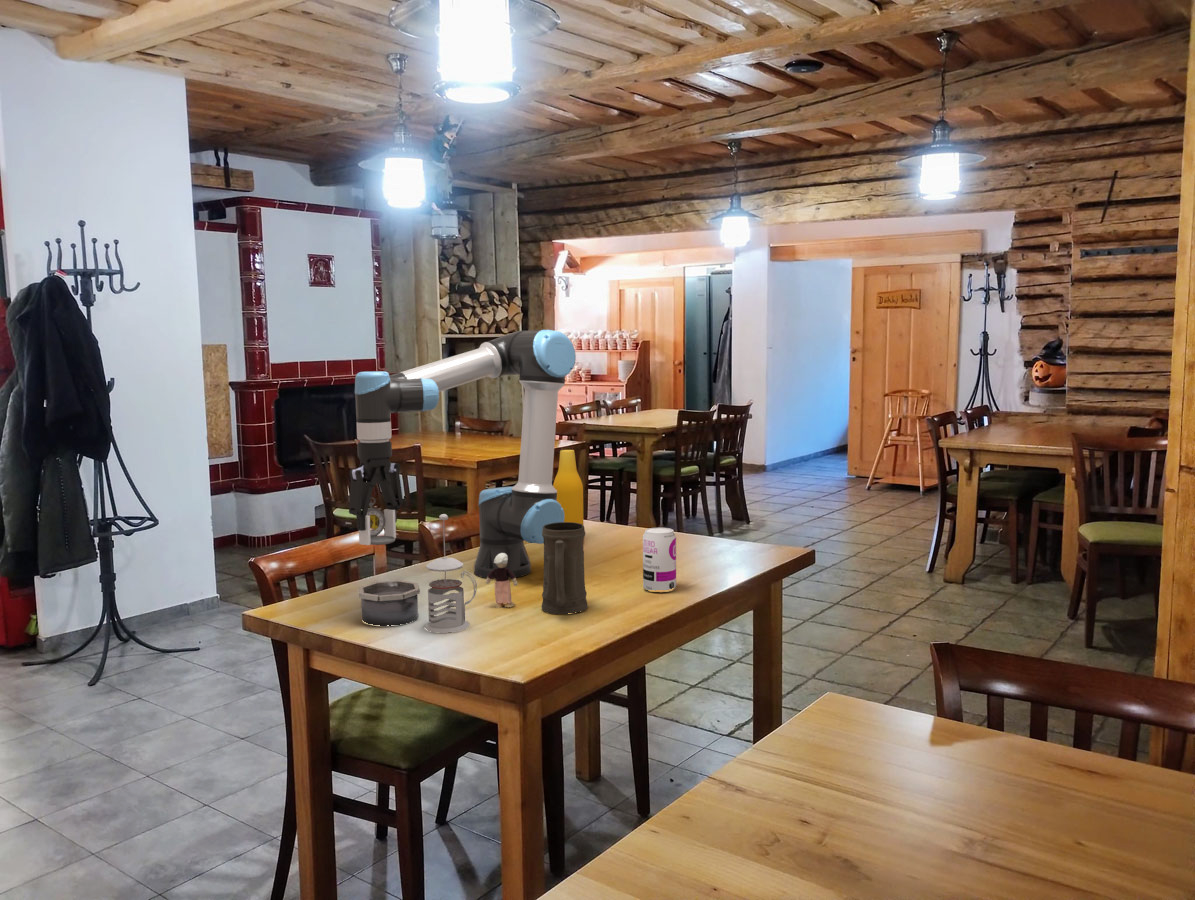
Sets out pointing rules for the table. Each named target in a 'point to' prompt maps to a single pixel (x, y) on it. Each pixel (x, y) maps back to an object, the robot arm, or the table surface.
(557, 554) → the beer stein
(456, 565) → the french press
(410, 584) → the grey octagonal rimmed bowl
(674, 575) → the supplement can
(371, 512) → the pocket watch
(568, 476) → the beer bottle
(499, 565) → the grandmother figurine
